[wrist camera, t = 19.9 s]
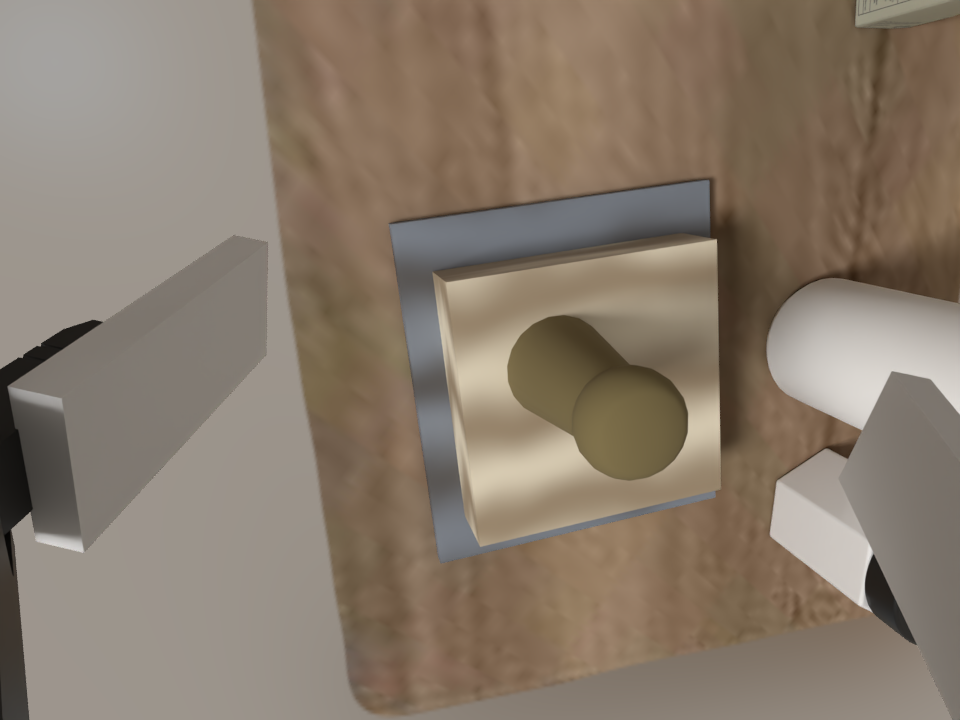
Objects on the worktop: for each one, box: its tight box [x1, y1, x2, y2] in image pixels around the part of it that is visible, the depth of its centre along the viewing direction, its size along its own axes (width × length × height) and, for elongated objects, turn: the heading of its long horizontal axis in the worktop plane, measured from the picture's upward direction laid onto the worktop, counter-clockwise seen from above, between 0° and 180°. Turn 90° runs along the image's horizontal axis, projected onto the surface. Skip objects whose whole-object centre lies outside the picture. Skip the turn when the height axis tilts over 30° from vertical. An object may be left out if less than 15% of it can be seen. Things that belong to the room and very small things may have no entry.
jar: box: [770, 448, 917, 645], centre depth 49 cm, size 9×8×12 cm
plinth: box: [389, 180, 721, 563], centre depth 44 cm, size 22×20×5 cm
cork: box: [507, 315, 688, 481], centre depth 36 cm, size 6×6×11 cm
